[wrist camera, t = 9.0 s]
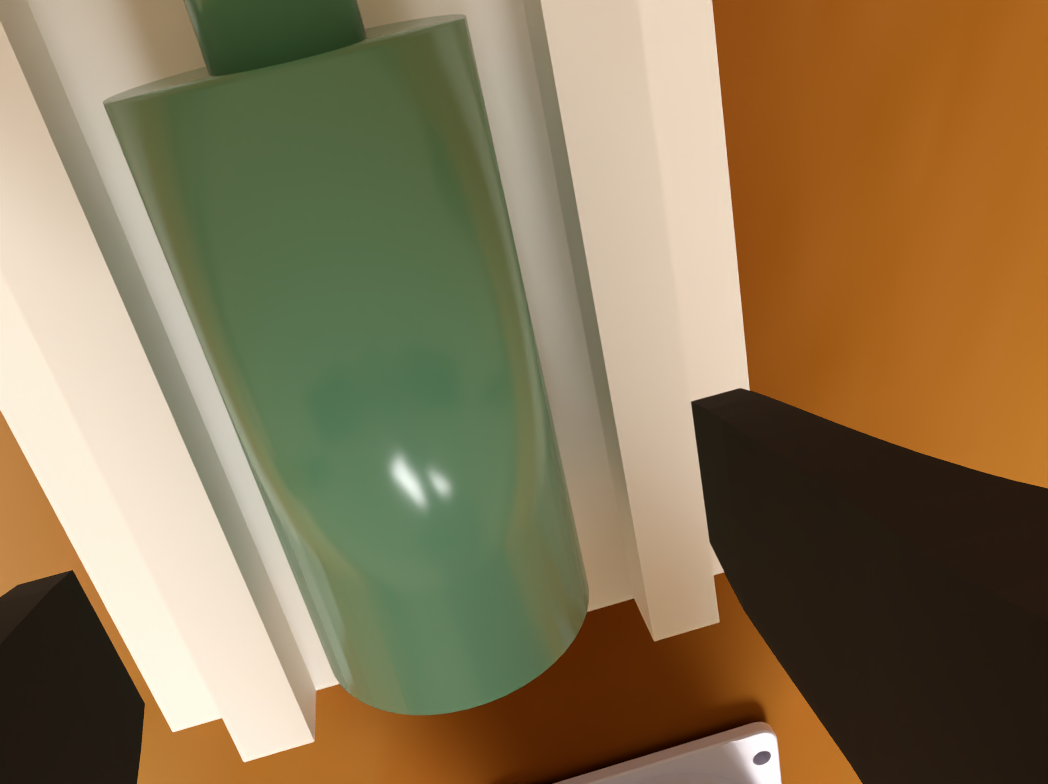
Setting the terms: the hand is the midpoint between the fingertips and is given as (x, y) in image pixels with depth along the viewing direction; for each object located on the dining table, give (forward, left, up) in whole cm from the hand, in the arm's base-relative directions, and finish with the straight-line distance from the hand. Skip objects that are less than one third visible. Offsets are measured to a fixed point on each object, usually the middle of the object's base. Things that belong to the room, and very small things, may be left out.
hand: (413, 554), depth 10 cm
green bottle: (+2, 0, -7) cm, 8 cm away
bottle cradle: (0, 0, -8) cm, 8 cm away
